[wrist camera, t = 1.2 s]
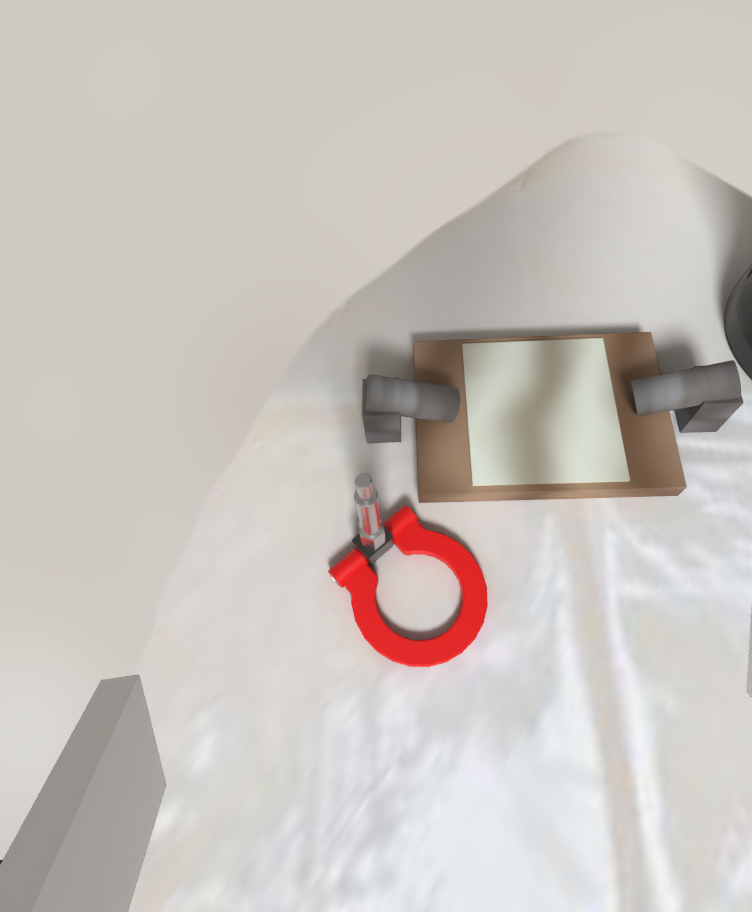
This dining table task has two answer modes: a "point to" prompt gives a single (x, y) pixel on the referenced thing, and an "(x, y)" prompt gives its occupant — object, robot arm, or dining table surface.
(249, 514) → the dining table surface
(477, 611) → the tow hook
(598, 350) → the shaft stand
